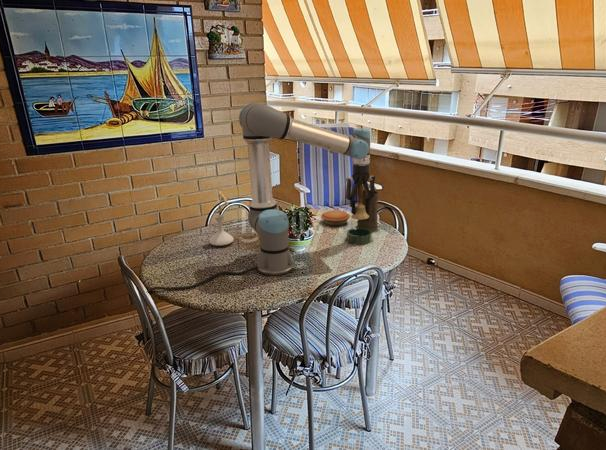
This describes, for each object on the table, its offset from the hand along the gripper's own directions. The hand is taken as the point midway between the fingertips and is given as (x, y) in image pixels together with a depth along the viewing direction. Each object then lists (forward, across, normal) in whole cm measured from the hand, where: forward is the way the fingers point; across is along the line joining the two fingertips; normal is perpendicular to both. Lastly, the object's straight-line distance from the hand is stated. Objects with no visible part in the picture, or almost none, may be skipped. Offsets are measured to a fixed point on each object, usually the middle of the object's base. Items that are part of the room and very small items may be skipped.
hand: (359, 212), depth 191 cm
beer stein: (+14, +11, +15) cm, 23 cm away
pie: (+11, -2, +28) cm, 30 cm away
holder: (+14, 0, 0) cm, 14 cm away
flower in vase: (+14, -63, +18) cm, 67 cm away
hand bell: (+2, 0, 0) cm, 2 cm away
